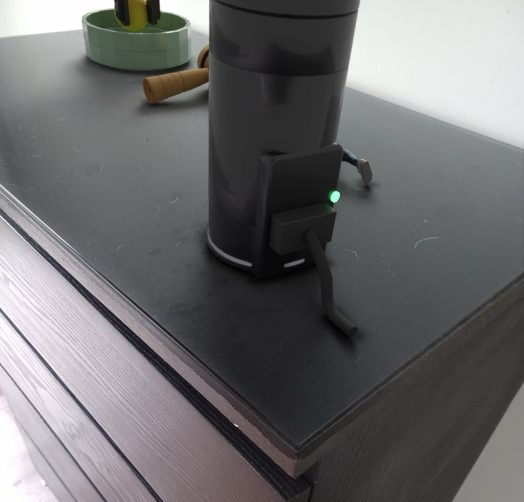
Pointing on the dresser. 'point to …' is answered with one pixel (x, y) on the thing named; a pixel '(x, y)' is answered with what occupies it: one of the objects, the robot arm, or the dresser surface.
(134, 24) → the yellow lemon
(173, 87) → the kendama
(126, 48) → the bowl
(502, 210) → the dresser surface
